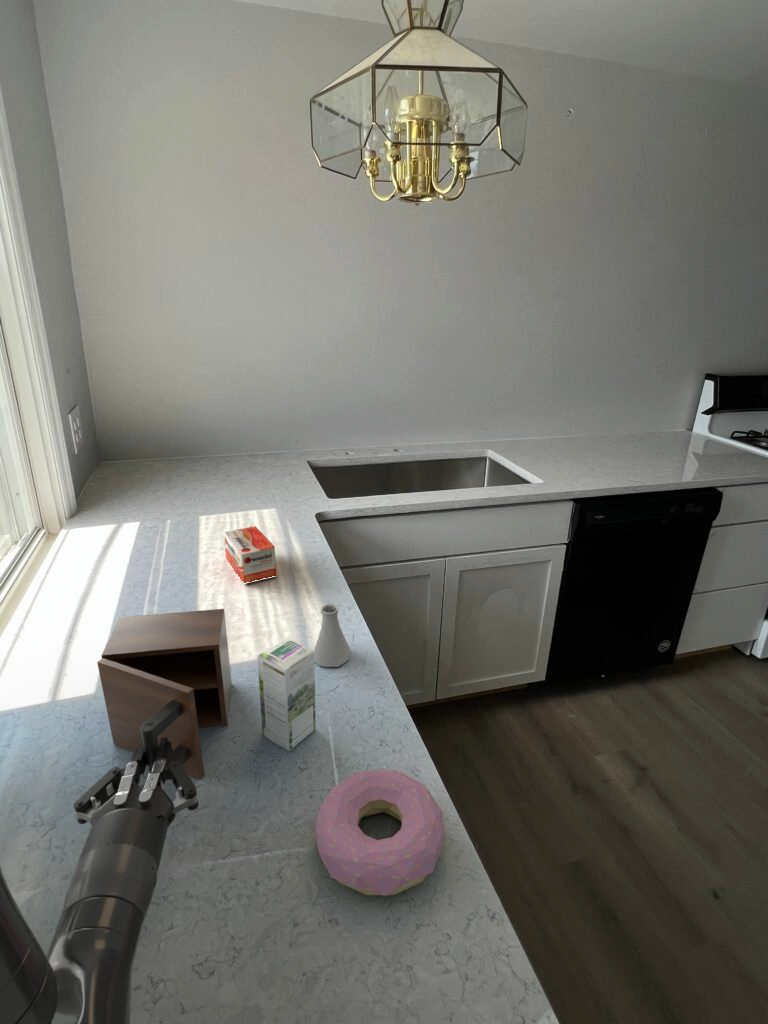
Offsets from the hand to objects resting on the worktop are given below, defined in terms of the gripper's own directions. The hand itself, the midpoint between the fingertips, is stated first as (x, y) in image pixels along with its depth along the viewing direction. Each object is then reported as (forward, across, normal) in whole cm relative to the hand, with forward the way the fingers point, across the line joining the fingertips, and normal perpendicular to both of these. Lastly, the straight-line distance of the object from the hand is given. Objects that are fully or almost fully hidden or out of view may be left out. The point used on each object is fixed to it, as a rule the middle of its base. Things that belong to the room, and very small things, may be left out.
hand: (155, 744), depth 70 cm
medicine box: (+64, -7, +8) cm, 65 cm away
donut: (-11, -27, +8) cm, 30 cm away
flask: (+27, -24, +8) cm, 37 cm away
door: (+3, +4, +8) cm, 9 cm away
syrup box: (+8, -16, +8) cm, 20 cm away
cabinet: (+16, +1, +8) cm, 18 cm away
